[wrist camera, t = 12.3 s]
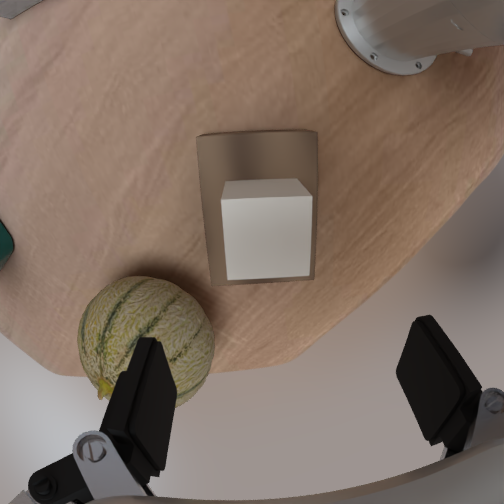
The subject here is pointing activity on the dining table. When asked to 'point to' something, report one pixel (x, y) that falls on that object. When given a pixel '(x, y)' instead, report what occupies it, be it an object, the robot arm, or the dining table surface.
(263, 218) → the cream cube
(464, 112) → the dining table surface
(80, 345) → the cantaloupe
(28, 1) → the light bulb box
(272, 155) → the walnut block
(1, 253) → the teal bottle
